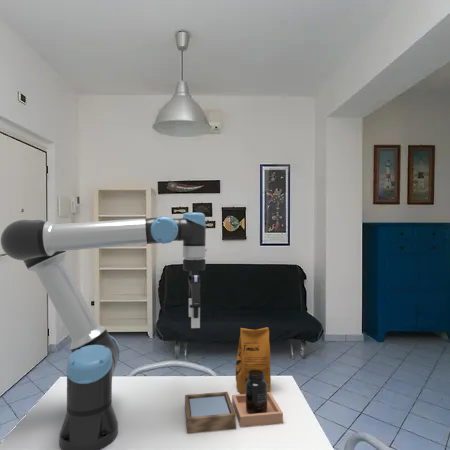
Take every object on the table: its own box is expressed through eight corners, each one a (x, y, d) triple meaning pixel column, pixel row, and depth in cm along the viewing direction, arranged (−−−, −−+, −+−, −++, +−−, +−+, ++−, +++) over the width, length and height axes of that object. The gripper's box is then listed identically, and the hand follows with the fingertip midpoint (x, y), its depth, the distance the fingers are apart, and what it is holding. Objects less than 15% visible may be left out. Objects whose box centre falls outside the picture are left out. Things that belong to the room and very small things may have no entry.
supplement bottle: (267, 405, 109) (267, 368, 109) (267, 417, 102) (267, 377, 102) (245, 404, 109) (246, 367, 109) (244, 416, 103) (245, 376, 103)
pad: (191, 422, 97) (191, 418, 97) (189, 401, 108) (189, 398, 108) (230, 418, 98) (230, 415, 98) (224, 399, 110) (224, 396, 110)
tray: (240, 427, 98) (240, 416, 98) (232, 404, 111) (232, 395, 111) (282, 423, 100) (282, 413, 100) (269, 400, 113) (270, 392, 113)
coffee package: (234, 382, 127) (235, 324, 127) (267, 381, 127) (267, 323, 127) (237, 395, 117) (237, 332, 117) (272, 394, 117) (272, 331, 117)
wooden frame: (187, 433, 95) (187, 419, 95) (184, 407, 109) (184, 394, 109) (235, 428, 97) (235, 414, 97) (227, 403, 111) (227, 391, 111)
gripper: (209, 262, 101) (209, 332, 101) (201, 255, 126) (201, 312, 125) (184, 262, 100) (184, 333, 100) (181, 255, 124) (181, 312, 124)
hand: (193, 321), depth 113 cm, fingers open, 13 cm apart
